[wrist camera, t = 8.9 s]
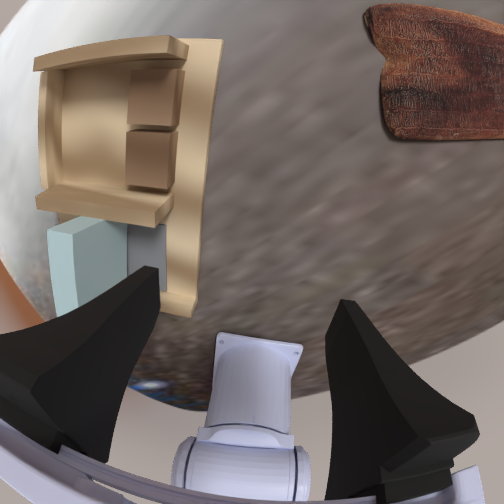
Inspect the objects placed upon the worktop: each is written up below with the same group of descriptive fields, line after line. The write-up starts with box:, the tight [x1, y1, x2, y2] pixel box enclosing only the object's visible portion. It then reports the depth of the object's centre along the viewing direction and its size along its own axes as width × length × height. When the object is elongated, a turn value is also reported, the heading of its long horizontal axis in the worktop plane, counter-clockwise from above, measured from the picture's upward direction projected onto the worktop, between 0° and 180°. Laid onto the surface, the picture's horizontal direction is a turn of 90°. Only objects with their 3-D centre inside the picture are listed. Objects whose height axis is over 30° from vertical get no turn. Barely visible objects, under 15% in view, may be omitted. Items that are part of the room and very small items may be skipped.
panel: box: [47, 216, 128, 317], centre depth 18 cm, size 8×2×7 cm, turn 172°
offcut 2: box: [125, 129, 178, 189], centre depth 17 cm, size 4×3×2 cm
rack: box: [33, 35, 224, 318], centre depth 17 cm, size 20×13×4 cm, turn 172°
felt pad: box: [78, 216, 167, 292], centre depth 22 cm, size 6×8×1 cm
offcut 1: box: [127, 69, 185, 126], centre depth 15 cm, size 4×3×2 cm
